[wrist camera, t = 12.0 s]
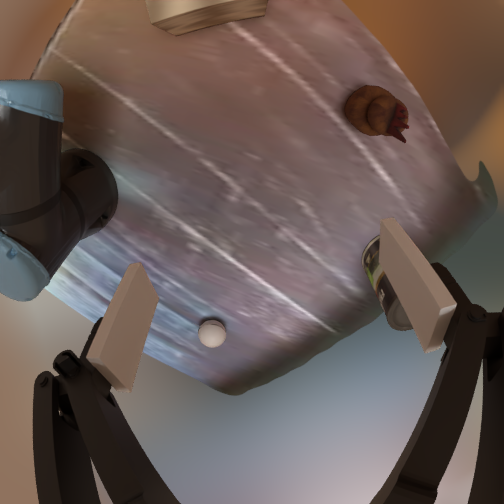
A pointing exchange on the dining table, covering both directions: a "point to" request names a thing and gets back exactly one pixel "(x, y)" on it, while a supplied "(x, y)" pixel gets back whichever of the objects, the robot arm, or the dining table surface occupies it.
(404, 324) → the coffee can
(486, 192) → the dining table surface
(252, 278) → the dining table surface
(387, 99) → the wooden figurine
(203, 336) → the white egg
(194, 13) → the drop box
